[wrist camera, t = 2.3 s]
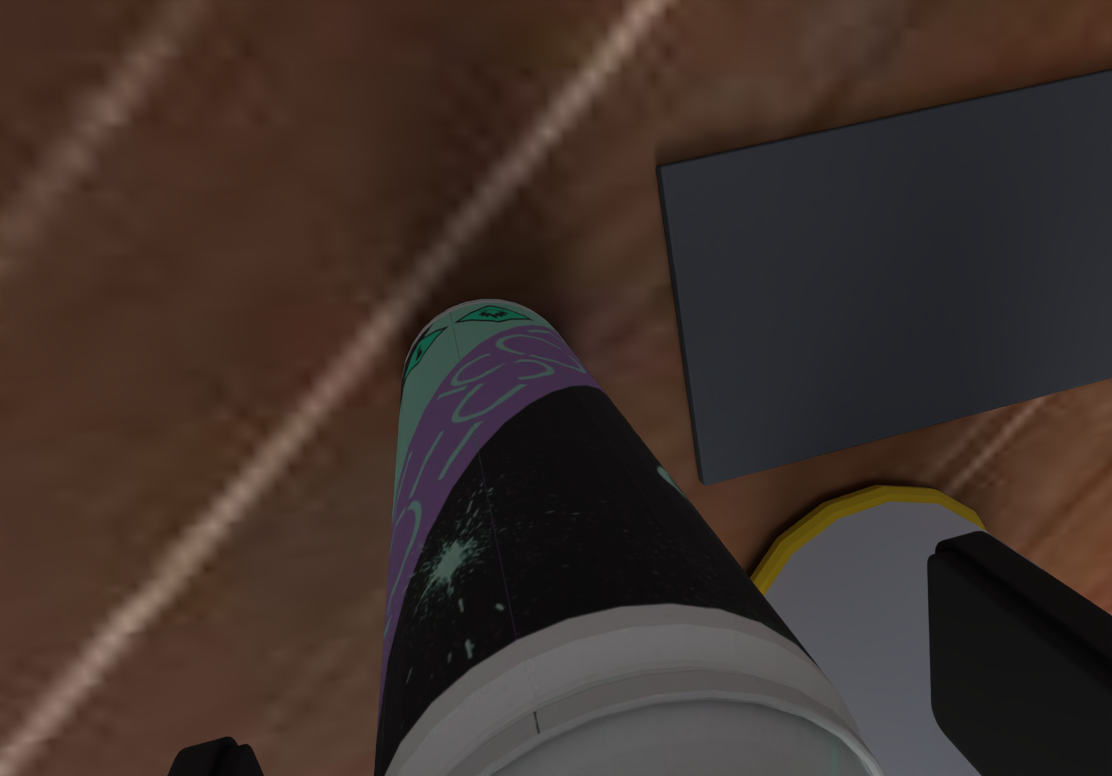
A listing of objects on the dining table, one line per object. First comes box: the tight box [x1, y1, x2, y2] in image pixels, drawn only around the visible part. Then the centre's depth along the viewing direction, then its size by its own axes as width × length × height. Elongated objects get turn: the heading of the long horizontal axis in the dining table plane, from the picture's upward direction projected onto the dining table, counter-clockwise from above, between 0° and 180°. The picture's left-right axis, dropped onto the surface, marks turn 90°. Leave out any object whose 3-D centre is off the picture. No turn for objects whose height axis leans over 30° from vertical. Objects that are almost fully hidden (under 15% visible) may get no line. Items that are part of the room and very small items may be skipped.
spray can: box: [374, 299, 886, 776], centre depth 14 cm, size 6×6×20 cm
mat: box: [656, 69, 1112, 486], centre depth 25 cm, size 11×20×1 cm, turn 101°
